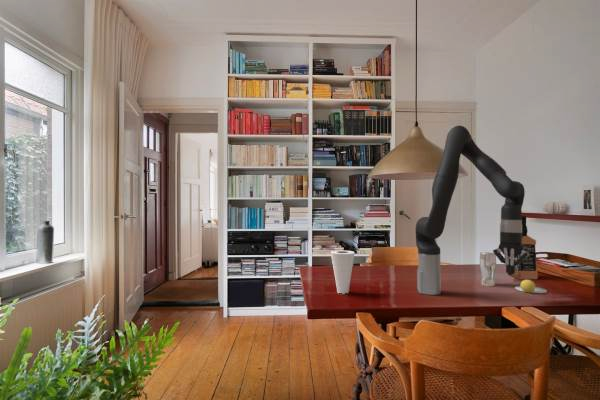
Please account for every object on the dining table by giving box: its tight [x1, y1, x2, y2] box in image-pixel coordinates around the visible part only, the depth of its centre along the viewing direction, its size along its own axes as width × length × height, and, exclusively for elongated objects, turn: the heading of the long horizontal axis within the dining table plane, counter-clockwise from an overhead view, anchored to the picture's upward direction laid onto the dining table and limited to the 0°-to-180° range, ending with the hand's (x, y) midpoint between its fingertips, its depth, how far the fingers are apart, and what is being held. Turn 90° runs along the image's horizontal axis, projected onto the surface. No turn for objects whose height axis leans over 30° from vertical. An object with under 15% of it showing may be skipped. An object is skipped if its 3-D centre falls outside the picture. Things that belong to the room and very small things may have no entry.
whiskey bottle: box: [508, 215, 539, 280], centre depth 180 cm, size 10×10×32 cm
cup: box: [330, 249, 355, 295], centre depth 153 cm, size 11×11×18 cm
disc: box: [514, 285, 548, 294], centre depth 155 cm, size 12×12×1 cm
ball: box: [519, 279, 536, 294], centre depth 151 cm, size 6×6×6 cm
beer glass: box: [479, 251, 497, 287], centre depth 165 cm, size 7×7×15 cm
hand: (510, 274), depth 137 cm, fingers closed
